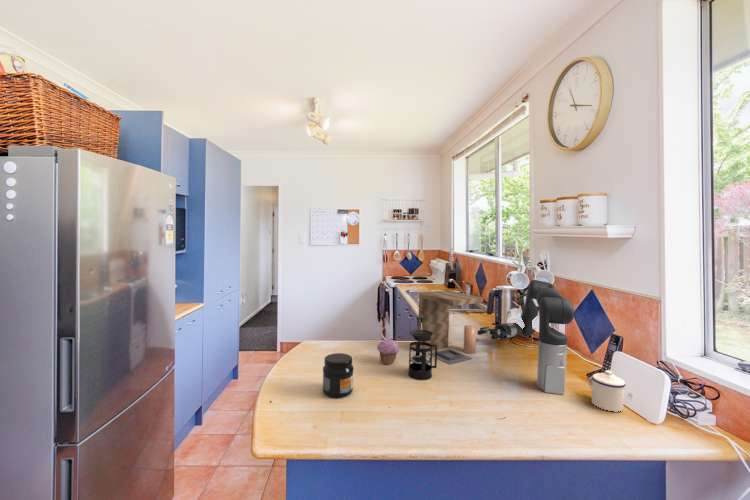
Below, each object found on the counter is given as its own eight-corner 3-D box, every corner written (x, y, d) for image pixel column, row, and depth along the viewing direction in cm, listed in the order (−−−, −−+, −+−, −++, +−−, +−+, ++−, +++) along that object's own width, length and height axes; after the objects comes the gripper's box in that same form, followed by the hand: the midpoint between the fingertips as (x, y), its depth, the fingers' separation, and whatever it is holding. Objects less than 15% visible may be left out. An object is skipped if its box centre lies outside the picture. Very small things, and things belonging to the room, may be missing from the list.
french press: (409, 380, 127) (411, 320, 126) (404, 370, 136) (405, 314, 135) (439, 379, 128) (441, 320, 127) (432, 369, 138) (433, 314, 136)
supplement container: (359, 393, 116) (359, 358, 115) (333, 402, 109) (334, 366, 108) (341, 382, 124) (342, 350, 123) (316, 390, 117) (317, 356, 116)
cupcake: (373, 361, 145) (373, 338, 145) (388, 357, 150) (389, 335, 150) (386, 368, 138) (387, 344, 137) (402, 363, 143) (402, 340, 143)
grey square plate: (449, 349, 163) (449, 346, 163) (472, 358, 151) (472, 355, 151) (427, 354, 155) (427, 351, 155) (449, 364, 143) (449, 361, 143)
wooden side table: (445, 345, 168) (447, 290, 167) (480, 360, 150) (482, 297, 148) (417, 351, 158) (419, 292, 157) (451, 367, 140) (453, 301, 139)
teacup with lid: (631, 412, 107) (633, 376, 107) (606, 414, 106) (608, 377, 105) (599, 394, 119) (601, 362, 118) (577, 396, 117) (579, 363, 117)
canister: (475, 354, 157) (476, 328, 156) (463, 353, 158) (464, 328, 158) (474, 350, 162) (475, 325, 162) (463, 349, 163) (464, 325, 163)
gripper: (494, 320, 180) (473, 324, 171) (518, 326, 168) (497, 331, 159) (493, 334, 181) (473, 338, 172) (517, 341, 169) (496, 346, 160)
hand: (484, 335), depth 166 cm, fingers open, 8 cm apart
